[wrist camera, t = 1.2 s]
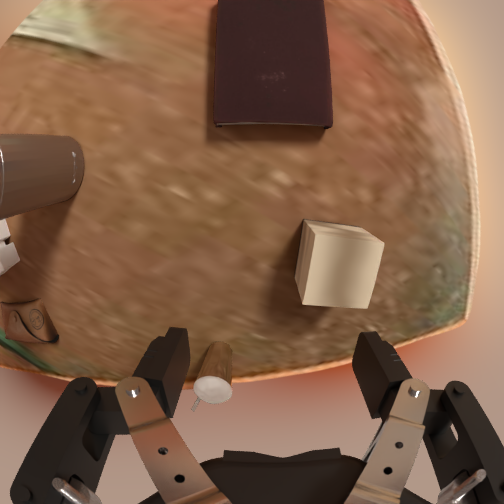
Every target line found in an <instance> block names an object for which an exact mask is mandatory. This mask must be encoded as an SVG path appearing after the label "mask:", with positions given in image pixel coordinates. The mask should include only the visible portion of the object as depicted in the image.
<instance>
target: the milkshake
mask: <svg viewBox="0 0 504 504" xmlns="http://www.w3.org/2000/svg"><path fill="white" fill-rule="evenodd" d="M193 389H194V392H195V394H196V395H197V396H198V398H197V400H196V401H195V403H194V405H193V407H192V409H191V410H192V411H195V409H196V407H197V405H198V403H199V402H200V400H203V401H205V402H207V403H210V404H218V403H222V402H225V401H227V400H228V399H230V398H231V396H232V349H231V347H230V345H229V344H227V343H225V342H214V343H213V344H211V345H210V347H209V350H208V352H207V355H206V357H205V360H204V362H203V365H202V367H201V370H200V372H199V374H198V376H197V379H196V381H195V383H194V388H193Z"/></svg>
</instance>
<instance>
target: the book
mask: <svg viewBox="0 0 504 504" xmlns="http://www.w3.org/2000/svg"><path fill="white" fill-rule="evenodd" d="M214 123H216V127H222V125H234V124H293V125H313V126H324V129H328V128H331V127H332V125H333V110H332V88H331V74H330V59H329V47H328V37H327V27H326V17H325V9H324V1H323V0H218V14H217V30H216V54H215V81H214Z"/></svg>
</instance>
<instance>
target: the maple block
mask: <svg viewBox="0 0 504 504" xmlns="http://www.w3.org/2000/svg"><path fill="white" fill-rule="evenodd" d="M383 248H384V243H383V242H382V241H381V240H379V239H378V238H376V237H375V236H373V235H372V234H370V233H369V232H367V231H365V230H364V229H362V228H361V227H357V226H350V225H343V224H336V223H329V222H321V221H313V220H306V219H303V225H302V232H301V239H300V245H299V251H298V258H297V264H296V270H295V276H294V277H295V280H296V284H297V287H298V291H299V294H300V297H301V301H302V304H303V305H315V306H330V307H347V308H368V305H369V302H370V298H371V295H372V291H373V288H374V284H375V280H376V277H377V273H378V269H379V265H380V261H381V256H382V252H383Z"/></svg>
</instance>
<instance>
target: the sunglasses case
mask: <svg viewBox="0 0 504 504" xmlns="http://www.w3.org/2000/svg"><path fill="white" fill-rule="evenodd" d="M0 304H1V308H2V315H3V321H4V328H5V333H6V337H5V338H6V339H11V340H15V341H22V342H31V343H55V342H56V341H57V340H58V337H59V335H58V333H57V331H56V329H55V327H54V325H53V323H52V321H51V319H50V317H49V315H48V313H47V311H46V308H45V306H44V305H43V303H42V300H41V299H36V300H34V301H29V302H22V303H4V302H0Z"/></svg>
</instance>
